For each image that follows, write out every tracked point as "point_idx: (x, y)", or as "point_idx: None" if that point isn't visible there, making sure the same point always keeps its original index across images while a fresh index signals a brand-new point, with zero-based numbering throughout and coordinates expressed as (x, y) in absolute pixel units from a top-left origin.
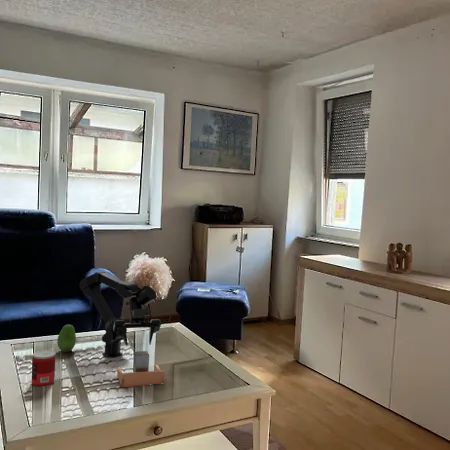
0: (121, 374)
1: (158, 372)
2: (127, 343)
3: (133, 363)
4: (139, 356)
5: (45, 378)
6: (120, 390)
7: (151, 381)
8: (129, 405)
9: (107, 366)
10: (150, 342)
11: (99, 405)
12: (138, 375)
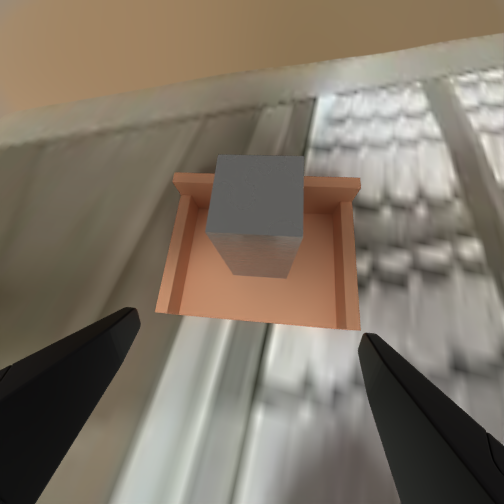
0: (358, 190)
1: (200, 175)
2: (370, 340)
3: (292, 261)
4: (281, 158)
5: None
6: None
7: None
8: (328, 103)
9: None
10: (121, 311)
11: (411, 114)
12: None
